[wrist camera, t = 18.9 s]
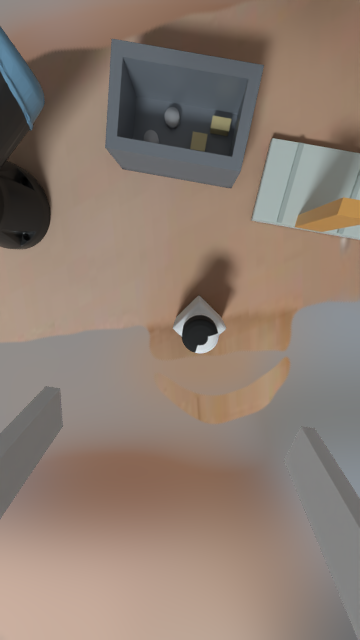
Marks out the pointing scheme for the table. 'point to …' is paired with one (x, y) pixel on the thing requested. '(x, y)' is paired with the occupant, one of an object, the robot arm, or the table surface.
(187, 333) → the medicine bottle
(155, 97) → the tub
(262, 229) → the table surface
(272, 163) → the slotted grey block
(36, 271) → the table surface
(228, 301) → the table surface
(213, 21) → the table surface
